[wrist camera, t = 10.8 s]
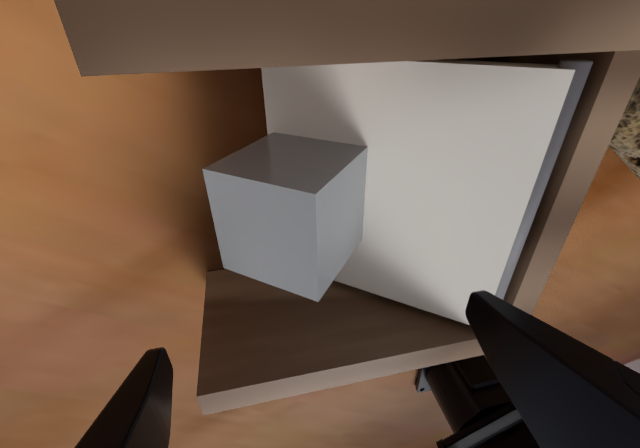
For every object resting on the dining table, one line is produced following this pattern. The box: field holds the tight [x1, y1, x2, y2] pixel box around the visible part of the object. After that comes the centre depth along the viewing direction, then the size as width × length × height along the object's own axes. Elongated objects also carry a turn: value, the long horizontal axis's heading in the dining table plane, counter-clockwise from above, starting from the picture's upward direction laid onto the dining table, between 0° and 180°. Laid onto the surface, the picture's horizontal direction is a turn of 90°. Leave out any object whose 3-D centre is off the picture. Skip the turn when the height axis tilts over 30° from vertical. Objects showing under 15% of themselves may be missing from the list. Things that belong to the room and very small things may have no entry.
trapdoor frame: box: [54, 0, 640, 415], centre depth 16 cm, size 16×16×8 cm
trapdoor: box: [261, 59, 593, 325], centre depth 17 cm, size 12×12×1 cm
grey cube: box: [202, 132, 368, 302], centre depth 16 cm, size 5×5×5 cm
